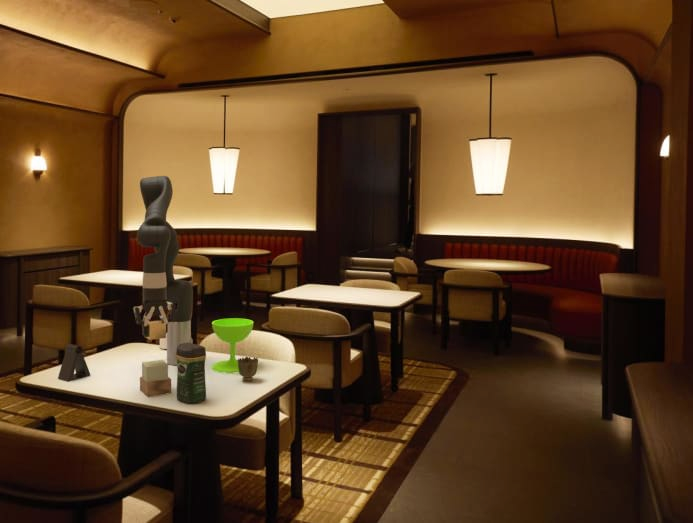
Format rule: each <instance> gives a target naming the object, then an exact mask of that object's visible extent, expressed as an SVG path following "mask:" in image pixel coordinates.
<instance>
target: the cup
mask: <svg viewBox="0 0 693 523" xmlns="http://www.w3.org/2000/svg"><path fill="white" fill-rule="evenodd" d="M237 360H238V368H239V373H238V374H239V375H240V376H241V377H242V380H243V382H246V381H249V382H252V381H253V380H254V376H256V374H257V371H258V366H259V358H258V357H255V356H254V357H253V358H251V357H250V356H249V357H248V356H245V357H239V358H238V359H237Z"/></svg>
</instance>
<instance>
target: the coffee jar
mask: <svg viewBox="0 0 693 523" xmlns="http://www.w3.org/2000/svg"><path fill="white" fill-rule="evenodd" d="M176 358H177V365H176V366H177V368H176V372H177V374H176V377H177V378H176V394H175V395H176V396H175V397H176V399H177V400H178V401H180V402H183V403H186V404H194V403H196V402H198V403H201V402H202V401H205V400H206V399H207V387H206V385H207V384H206V369H205V368H206V358H207V350H206V347H205V346H204V345H199V344H195V343H193V344H192V343H190V342H189V343H182V344H179V346H178V347H177V351H176ZM200 401H201V402H200ZM196 404H197V403H196Z"/></svg>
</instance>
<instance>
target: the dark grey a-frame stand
mask: <svg viewBox="0 0 693 523" xmlns="http://www.w3.org/2000/svg"><path fill="white" fill-rule="evenodd" d="M83 350H84V349H83V347H82V346H81V345H78V344H73V343H67V344H65V346H64V351H65V352H64V355H63V356H64V357H63V359H62V363H61V366H60V370H59V373H58V375H57V379H58V380H61V381H65V382H69V383H70V382H73V381H77V380H80V379H84V378H85V379H86V378H88V377H91V373H90V369H89V368H88V365H87V362H86V360H85V359H86V358H85V356H84V353H83Z"/></svg>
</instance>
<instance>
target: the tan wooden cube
mask: <svg viewBox="0 0 693 523" xmlns="http://www.w3.org/2000/svg"><path fill="white" fill-rule="evenodd" d="M147 326H148V337H145V339H148V340H151V341H152V340H160V339H161V338H166V323H164V322H162V320H153V321H152V320H151V321H150V320H149V322H148V325H147Z"/></svg>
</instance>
